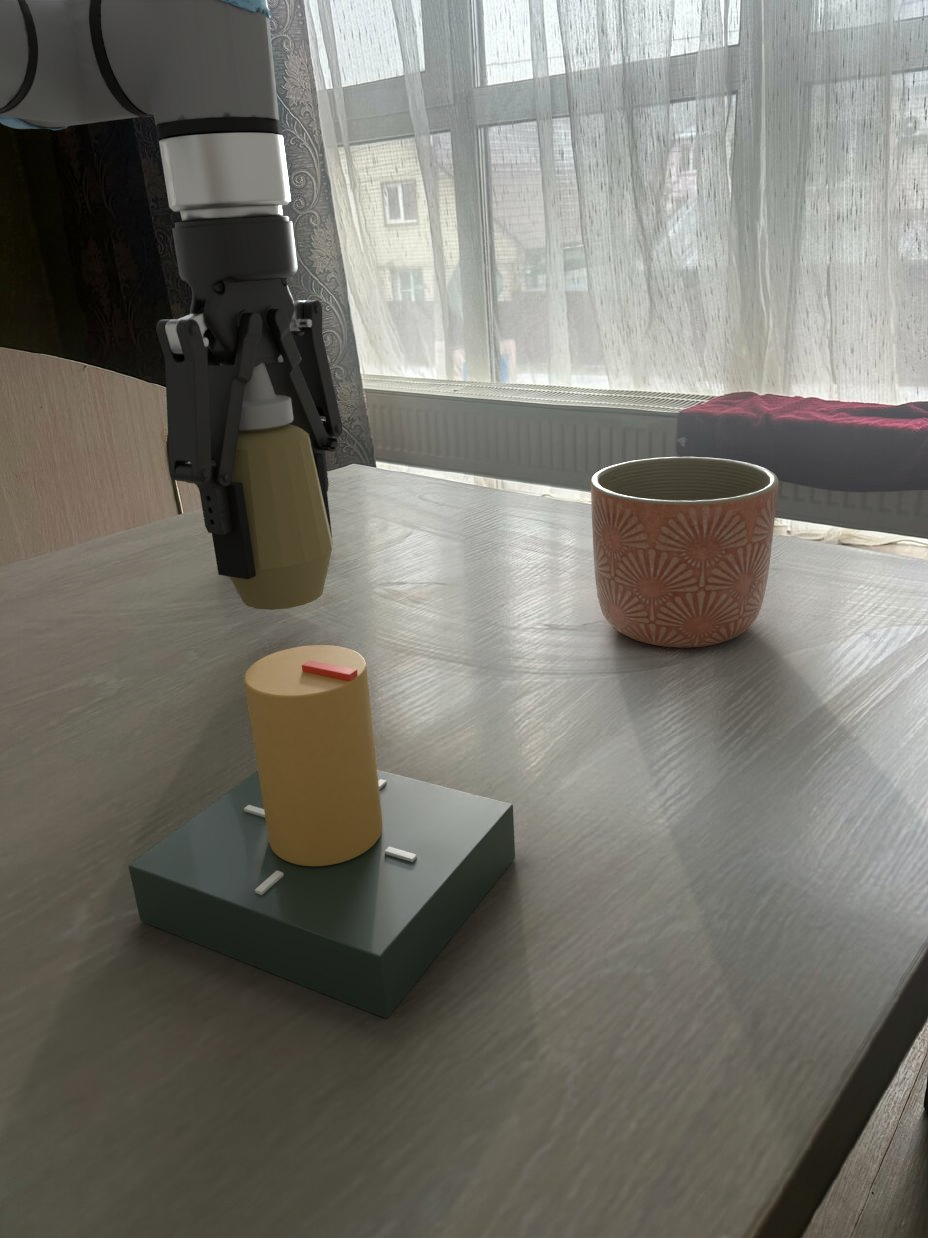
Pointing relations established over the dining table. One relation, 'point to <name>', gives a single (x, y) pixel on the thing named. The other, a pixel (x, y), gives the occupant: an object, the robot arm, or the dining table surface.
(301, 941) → the panel
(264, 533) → the squeeze bottle
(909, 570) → the dining table surface
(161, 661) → the dining table surface
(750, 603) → the planter
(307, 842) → the dial
